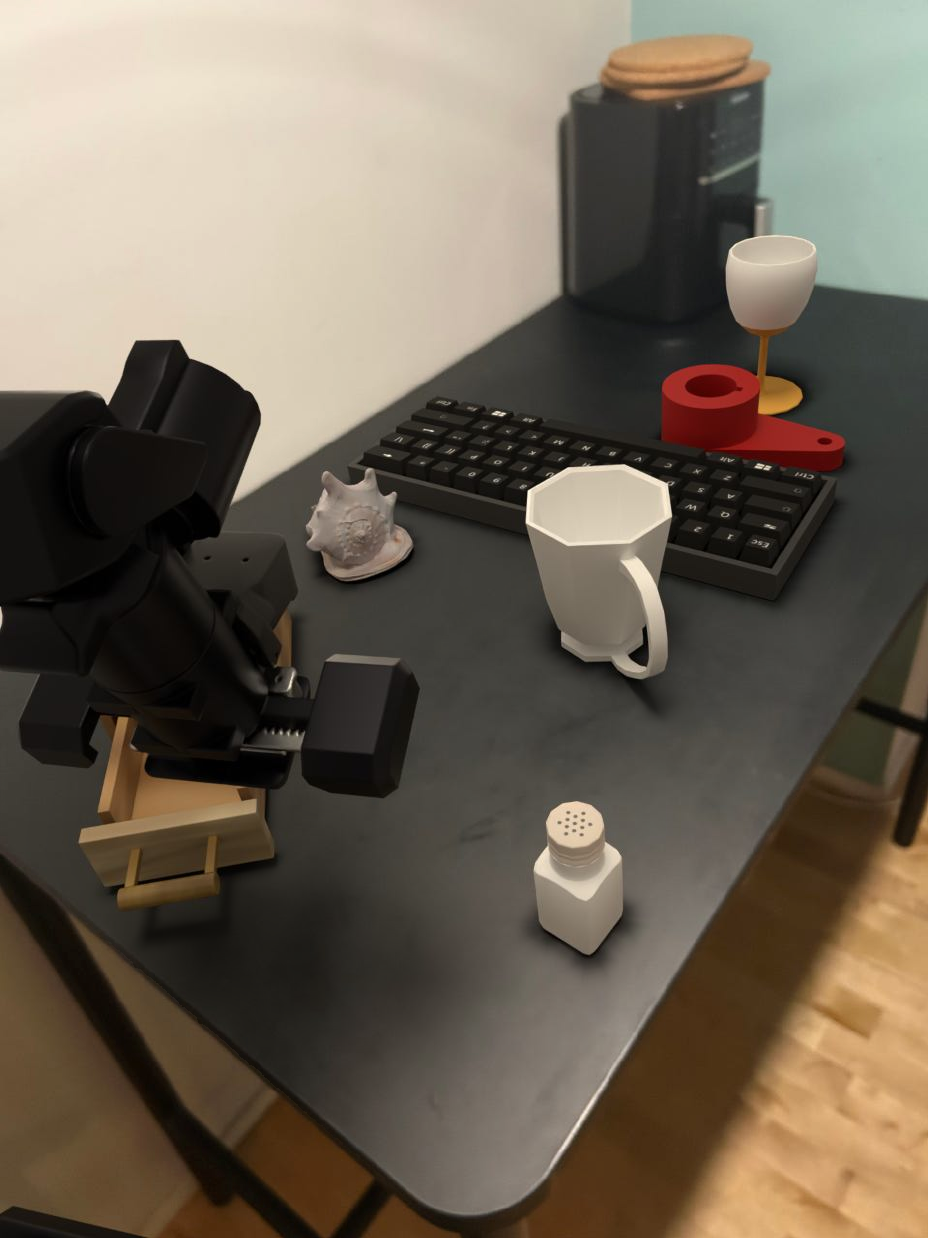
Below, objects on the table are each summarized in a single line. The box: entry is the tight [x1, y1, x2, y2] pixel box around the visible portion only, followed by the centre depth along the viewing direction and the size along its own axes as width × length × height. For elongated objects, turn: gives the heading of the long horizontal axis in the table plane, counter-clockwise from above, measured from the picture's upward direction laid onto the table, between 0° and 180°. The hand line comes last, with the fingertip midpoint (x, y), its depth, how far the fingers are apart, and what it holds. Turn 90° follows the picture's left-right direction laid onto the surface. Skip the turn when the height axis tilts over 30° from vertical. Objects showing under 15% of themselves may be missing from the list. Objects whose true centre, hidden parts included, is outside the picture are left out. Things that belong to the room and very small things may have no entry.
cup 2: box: [725, 234, 818, 416], centre depth 101 cm, size 9×9×16 cm
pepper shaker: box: [533, 800, 624, 956], centre depth 56 cm, size 4×4×10 cm
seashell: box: [305, 468, 414, 582], centre depth 90 cm, size 10×12×9 cm
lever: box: [660, 363, 846, 472], centre depth 96 cm, size 18×9×7 cm, turn 62°
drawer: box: [78, 717, 275, 913], centre depth 66 cm, size 18×11×5 cm, turn 7°
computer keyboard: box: [346, 395, 838, 602], centre depth 94 cm, size 45×16×4 cm, turn 57°
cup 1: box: [526, 465, 672, 680], centre depth 73 cm, size 11×16×13 cm
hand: (275, 780), depth 53 cm, fingers closed
